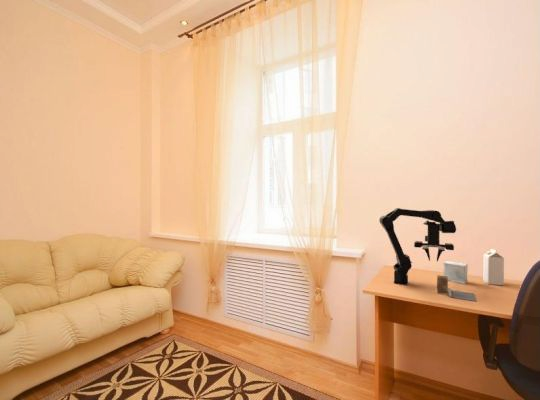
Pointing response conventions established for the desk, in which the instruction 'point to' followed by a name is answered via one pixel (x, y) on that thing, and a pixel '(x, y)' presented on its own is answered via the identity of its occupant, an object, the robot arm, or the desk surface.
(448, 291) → the stop strip
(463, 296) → the rubber mat
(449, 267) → the skincare box
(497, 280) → the milk carton
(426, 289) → the desk surface
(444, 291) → the wooden block
